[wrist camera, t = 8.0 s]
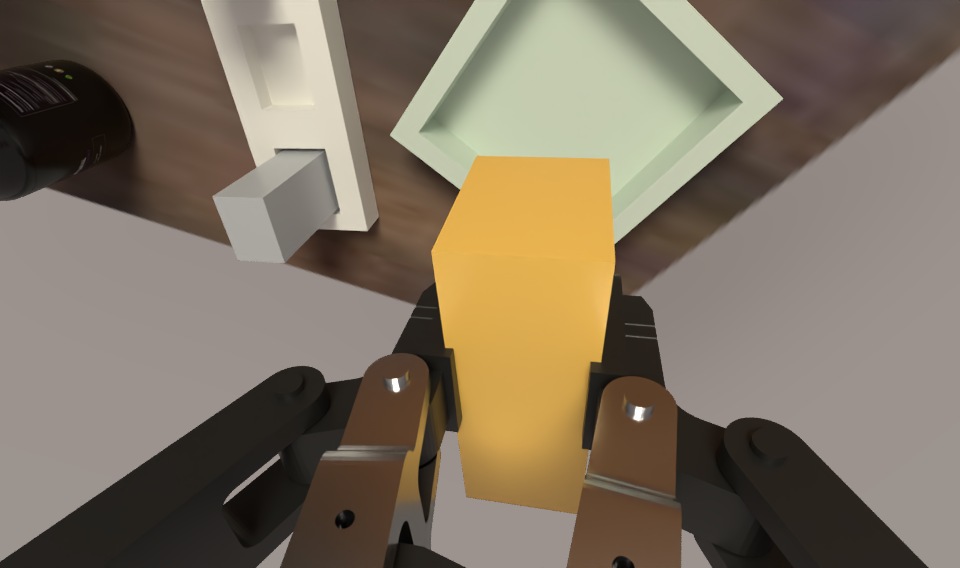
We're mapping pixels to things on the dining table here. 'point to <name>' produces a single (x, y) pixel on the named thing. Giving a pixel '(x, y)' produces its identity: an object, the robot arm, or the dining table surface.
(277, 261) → the block
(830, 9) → the dining table surface
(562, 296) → the block
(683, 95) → the sage tray
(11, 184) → the supplement bottle
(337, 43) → the block
